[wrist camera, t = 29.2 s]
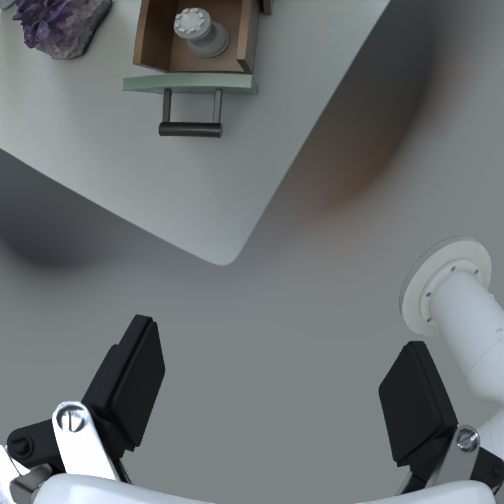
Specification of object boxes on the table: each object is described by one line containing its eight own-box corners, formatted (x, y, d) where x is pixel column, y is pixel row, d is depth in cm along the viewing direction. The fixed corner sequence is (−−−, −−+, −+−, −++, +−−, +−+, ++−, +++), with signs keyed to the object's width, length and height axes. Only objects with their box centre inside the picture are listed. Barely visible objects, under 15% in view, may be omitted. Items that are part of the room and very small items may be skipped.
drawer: (253, 135, 30) (245, 143, 22) (157, 131, 30) (121, 140, 22) (268, -7, 21) (265, -42, 13) (171, -4, 21) (141, -31, 14)
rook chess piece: (207, 17, 22) (186, -9, 15) (238, 36, 23) (226, 12, 16) (181, 46, 24) (153, 28, 17) (211, 65, 25) (191, 51, 18)
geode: (24, 19, 20) (-12, 7, 11) (73, -31, 18) (43, -53, 9) (68, 76, 26) (22, 66, 17) (128, 15, 24) (95, -15, 14)
